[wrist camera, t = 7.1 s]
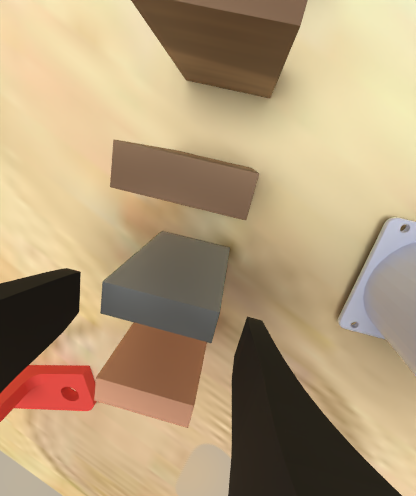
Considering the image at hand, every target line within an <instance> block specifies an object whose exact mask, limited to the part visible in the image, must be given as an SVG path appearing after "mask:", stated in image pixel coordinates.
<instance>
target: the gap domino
mask: <svg viewBox="0 0 416 496" xmlns="http://www.w3.org/2000/svg"><path fill="white" fill-rule="evenodd" d="M229 250H230V248H229V247H225V246H221V245H217V244H213V243H209V242H205V241H201V240H197V239H193V238H188V237H184V236H180V235H176V234H172V233H168V232H164V231H161V232H160V233H159V234H158V235H157V236H156V237H154V238H153V239H152V240H151V241H150V242H149V243H147V244H146V245H145V246H144V247H143V248H142V249H140V250H139V251H138V252H137V253H136V254H134V255H133V256H132V257H131V258H130V259H129V260H127V261H126V262H125V263H124V264H123V265H122V266H120V267H119V268H118V269H117V270H116V271H114V272H113V273H112V274H111V275H110V276H109V277H107V278H106V279H105V280H104V281H103V284H102V299H101V314H105V315H109V316H112V317H116V318H120V319H123V320H127V321H131V322H135V323H138V324H142V325H146V326H149V327H153V328H157V329H160V330H164V331H168V332H172V333H175V334H179V335H183V336H186V337H190V338H194V339H197V340H201V341H205V342H209V343H212V339H213V336H214V332H215V328H216V325H217V321H218V317H219V314H220V308H221V302H222V295H223V289H224V282H225V276H226V270H227V263H228V257H229Z"/></svg>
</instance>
